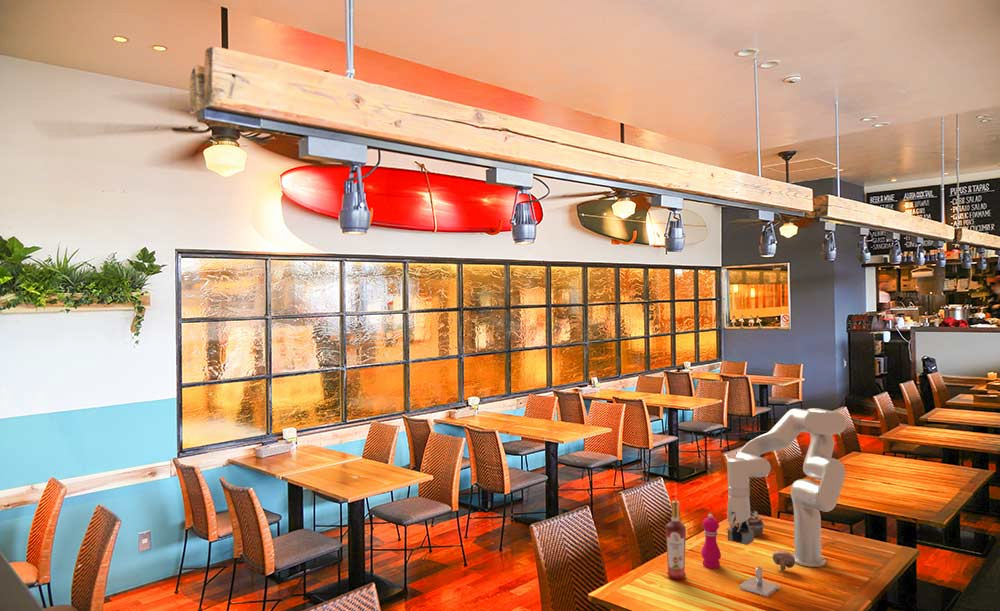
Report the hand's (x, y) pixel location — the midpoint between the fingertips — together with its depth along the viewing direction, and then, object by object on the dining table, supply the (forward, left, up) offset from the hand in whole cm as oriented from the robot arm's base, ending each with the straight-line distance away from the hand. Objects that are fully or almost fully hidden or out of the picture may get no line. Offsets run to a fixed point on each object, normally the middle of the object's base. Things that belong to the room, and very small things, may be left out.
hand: (740, 538), depth 241 cm
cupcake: (-43, -15, -13) cm, 48 cm away
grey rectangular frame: (0, 0, -1) cm, 1 cm away
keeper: (+9, +11, -13) cm, 19 cm away
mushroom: (-12, +11, -13) cm, 21 cm away
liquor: (+21, -15, -13) cm, 29 cm away
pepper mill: (+2, -11, -13) cm, 17 cm away
